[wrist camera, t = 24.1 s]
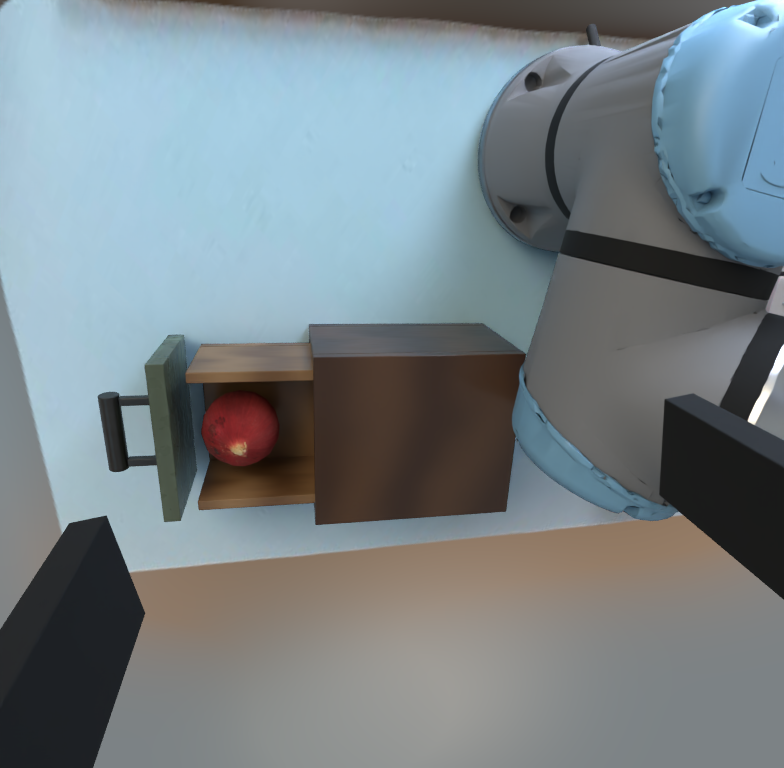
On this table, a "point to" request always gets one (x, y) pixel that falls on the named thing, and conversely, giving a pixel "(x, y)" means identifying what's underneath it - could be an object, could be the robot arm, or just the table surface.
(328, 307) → the table surface
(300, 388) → the drawer
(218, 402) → the onion
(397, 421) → the cabinet
